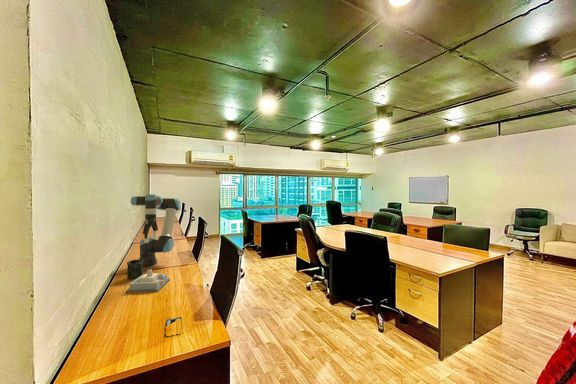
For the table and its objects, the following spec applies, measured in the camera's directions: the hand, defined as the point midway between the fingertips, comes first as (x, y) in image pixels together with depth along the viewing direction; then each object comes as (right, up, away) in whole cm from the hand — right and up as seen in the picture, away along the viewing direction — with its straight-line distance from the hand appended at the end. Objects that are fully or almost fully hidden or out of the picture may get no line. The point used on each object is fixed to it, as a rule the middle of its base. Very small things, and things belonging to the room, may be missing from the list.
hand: (150, 240), depth 187 cm
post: (+12, -26, -23) cm, 36 cm away
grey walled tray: (+12, -27, -23) cm, 37 cm away
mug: (-7, -27, -8) cm, 29 cm away
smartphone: (+53, -28, -72) cm, 93 cm away
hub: (+15, -26, -22) cm, 37 cm away
